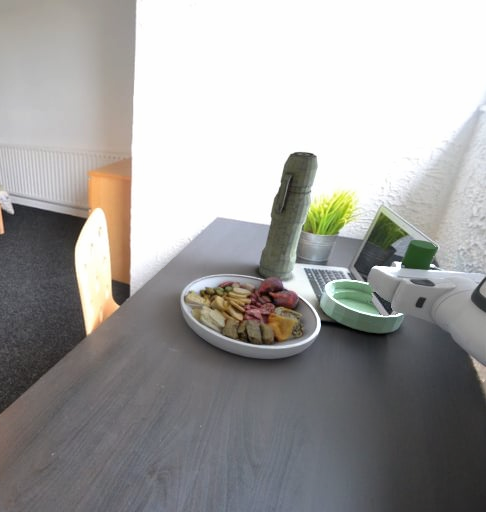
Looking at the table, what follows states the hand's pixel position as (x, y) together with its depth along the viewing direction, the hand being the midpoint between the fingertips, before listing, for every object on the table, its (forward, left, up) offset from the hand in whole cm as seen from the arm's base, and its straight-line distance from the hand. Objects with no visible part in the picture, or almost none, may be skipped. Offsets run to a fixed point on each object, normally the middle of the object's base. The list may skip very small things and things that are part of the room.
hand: (410, 266), depth 77 cm
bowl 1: (+31, +3, -17) cm, 35 cm away
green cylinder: (0, +1, -6) cm, 7 cm away
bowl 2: (+3, -6, -17) cm, 18 cm away
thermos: (+18, -24, -17) cm, 35 cm away
